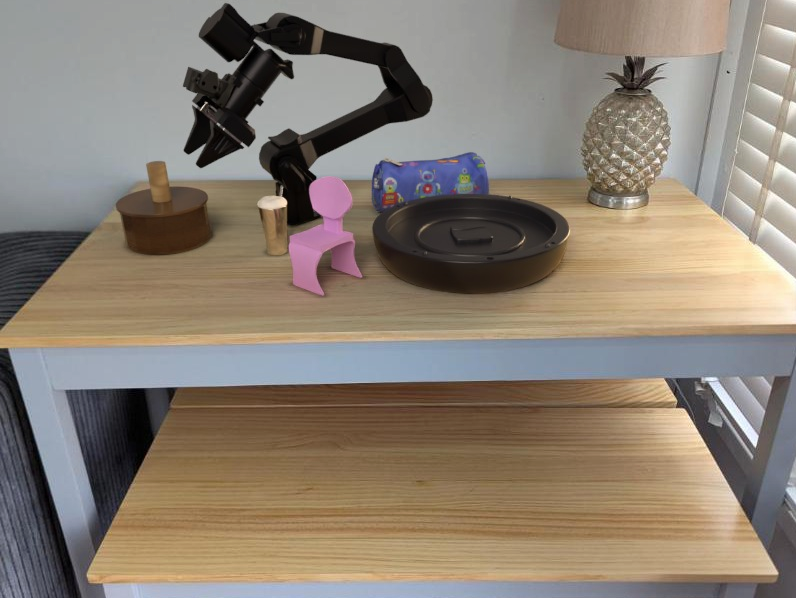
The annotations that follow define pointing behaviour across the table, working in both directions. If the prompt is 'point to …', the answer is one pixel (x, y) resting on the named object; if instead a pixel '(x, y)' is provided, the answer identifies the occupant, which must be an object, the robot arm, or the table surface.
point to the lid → (161, 196)
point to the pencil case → (427, 179)
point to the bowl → (167, 232)
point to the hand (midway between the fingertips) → (191, 159)
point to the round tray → (470, 242)
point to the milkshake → (274, 222)
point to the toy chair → (324, 235)
